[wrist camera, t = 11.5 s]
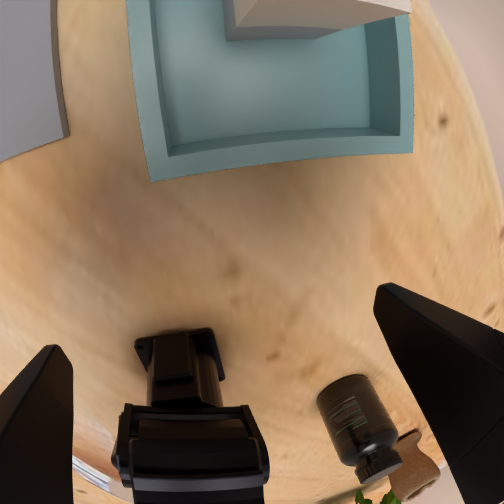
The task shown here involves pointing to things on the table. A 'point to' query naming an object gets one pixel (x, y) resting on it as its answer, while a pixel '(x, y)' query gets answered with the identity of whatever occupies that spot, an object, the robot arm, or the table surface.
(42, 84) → the stud base
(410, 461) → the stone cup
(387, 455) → the supplement bottle
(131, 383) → the table surface
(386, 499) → the indoor plant
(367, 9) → the beige rectangular block
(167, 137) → the bin
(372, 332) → the table surface
